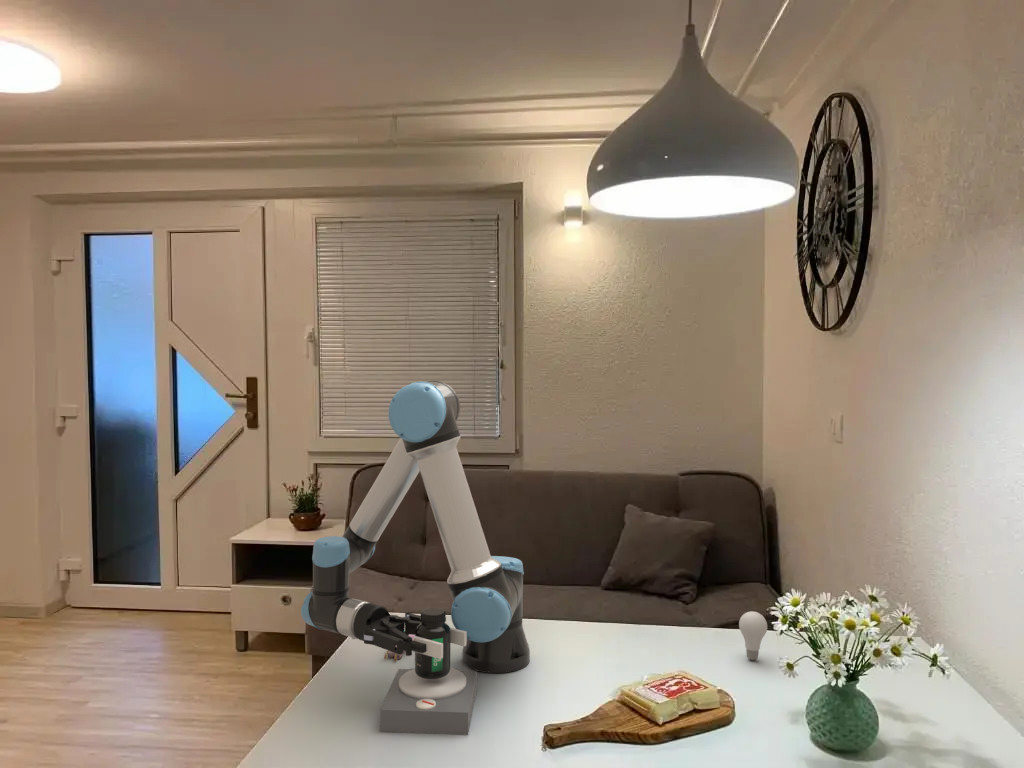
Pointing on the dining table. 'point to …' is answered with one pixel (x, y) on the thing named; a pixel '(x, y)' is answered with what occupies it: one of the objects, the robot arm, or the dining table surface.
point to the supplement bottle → (435, 631)
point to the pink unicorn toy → (398, 656)
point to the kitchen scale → (429, 703)
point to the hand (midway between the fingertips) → (453, 644)
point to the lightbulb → (752, 632)
